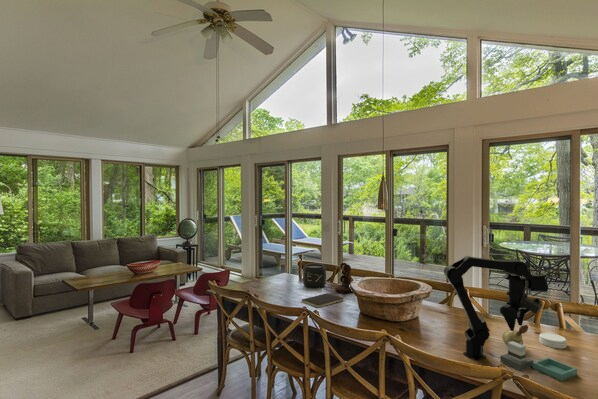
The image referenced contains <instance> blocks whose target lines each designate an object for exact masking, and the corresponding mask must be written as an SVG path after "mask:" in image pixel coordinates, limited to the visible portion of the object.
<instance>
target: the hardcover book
mask: <svg viewBox="0 0 598 399" xmlns="http://www.w3.org/2000/svg"><path fill="white" fill-rule="evenodd" d="M344 299H345V298H344V297H343V296H339V295H336V294H332V293H329V292H327V293H323V294H318V295H314V296H311V297H307V298H302V299H301V303H304V304H307V305H309V306H312V307H316V308H323V307H325V306H329V305H333V304H336V302H337V303H340V302H344Z"/></svg>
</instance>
